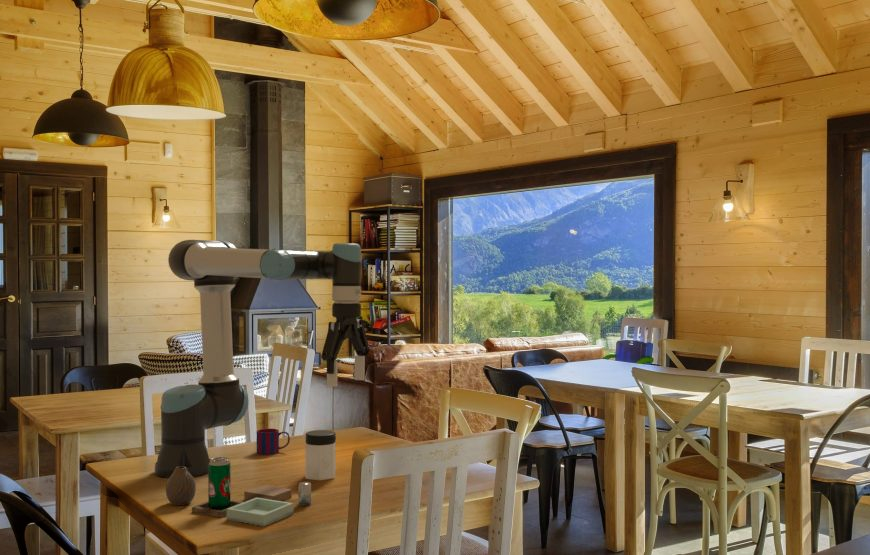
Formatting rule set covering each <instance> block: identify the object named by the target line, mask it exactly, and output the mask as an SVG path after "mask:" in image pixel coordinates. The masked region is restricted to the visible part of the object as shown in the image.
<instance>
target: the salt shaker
mask: <svg viewBox="0 0 870 555" xmlns="http://www.w3.org/2000/svg"><path fill="white" fill-rule="evenodd" d="M297 488H298V491H297V493H298V506H299V507H309V506H311V505H312V482H307V481H303V482H299V483H298V486H297Z"/></svg>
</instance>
